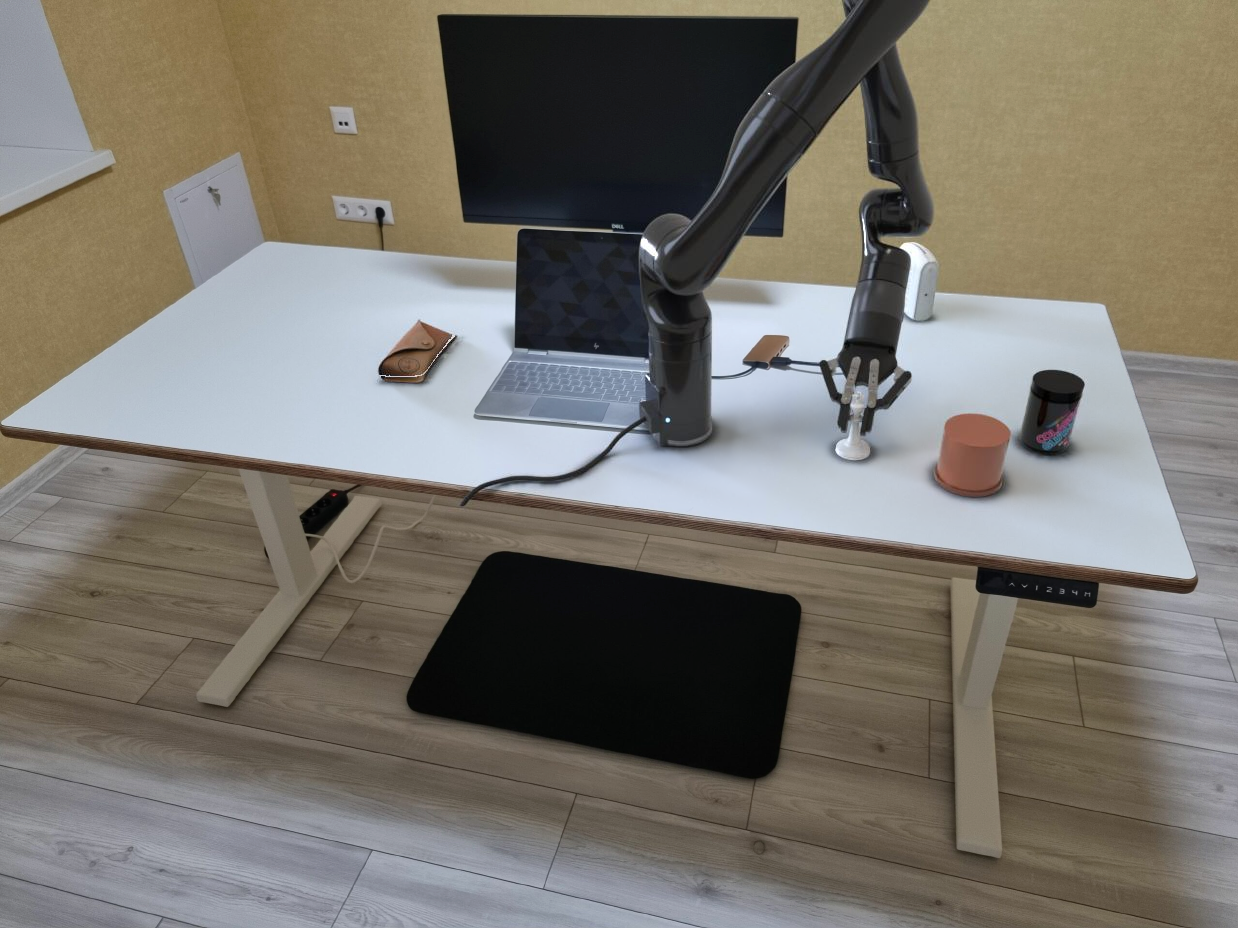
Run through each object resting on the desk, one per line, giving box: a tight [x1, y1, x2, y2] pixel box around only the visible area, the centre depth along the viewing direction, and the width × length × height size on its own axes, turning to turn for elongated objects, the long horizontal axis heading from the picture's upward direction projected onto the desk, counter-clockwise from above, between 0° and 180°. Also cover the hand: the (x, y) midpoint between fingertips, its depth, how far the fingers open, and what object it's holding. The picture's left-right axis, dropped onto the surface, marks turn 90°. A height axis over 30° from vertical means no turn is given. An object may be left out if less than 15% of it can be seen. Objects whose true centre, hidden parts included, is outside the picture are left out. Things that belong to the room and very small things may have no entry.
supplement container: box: [1019, 369, 1086, 456], centre depth 132 cm, size 7×7×10 cm
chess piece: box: [835, 390, 871, 461], centre depth 133 cm, size 5×5×10 cm
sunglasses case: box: [377, 318, 458, 384], centre depth 166 cm, size 18×7×7 cm
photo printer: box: [899, 241, 940, 322], centre depth 169 cm, size 10×4×12 cm, turn 11°
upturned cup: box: [933, 412, 1011, 498], centre depth 126 cm, size 9×9×8 cm
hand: (853, 433), depth 132 cm, fingers closed on chess piece
